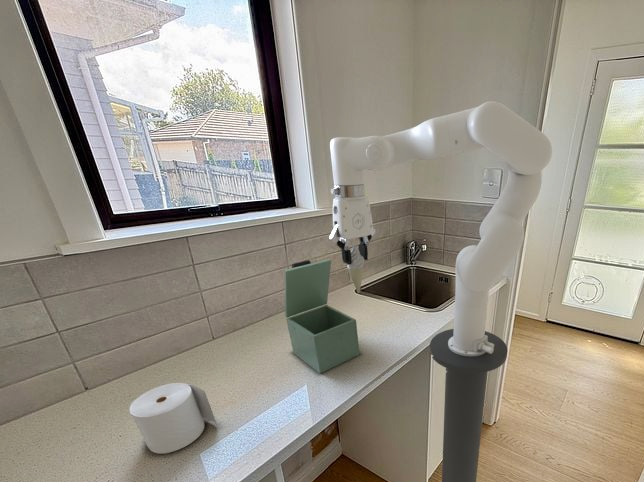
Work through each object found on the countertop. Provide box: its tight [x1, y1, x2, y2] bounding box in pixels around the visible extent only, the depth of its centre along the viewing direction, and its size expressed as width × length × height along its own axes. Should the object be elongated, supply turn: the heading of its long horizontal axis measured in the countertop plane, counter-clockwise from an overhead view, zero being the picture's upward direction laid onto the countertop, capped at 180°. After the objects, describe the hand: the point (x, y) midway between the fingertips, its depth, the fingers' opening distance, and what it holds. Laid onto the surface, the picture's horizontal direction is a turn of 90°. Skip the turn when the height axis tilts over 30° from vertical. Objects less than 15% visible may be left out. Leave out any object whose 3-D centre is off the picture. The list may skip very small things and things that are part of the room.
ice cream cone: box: [346, 242, 366, 294], centre depth 95 cm, size 5×5×15 cm
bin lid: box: [284, 258, 332, 319], centre depth 97 cm, size 16×14×5 cm
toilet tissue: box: [129, 382, 218, 455], centre depth 71 cm, size 11×12×10 cm
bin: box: [285, 304, 360, 374], centre depth 99 cm, size 16×14×12 cm
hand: (355, 260), depth 94 cm, fingers closed on ice cream cone, 4 cm apart
